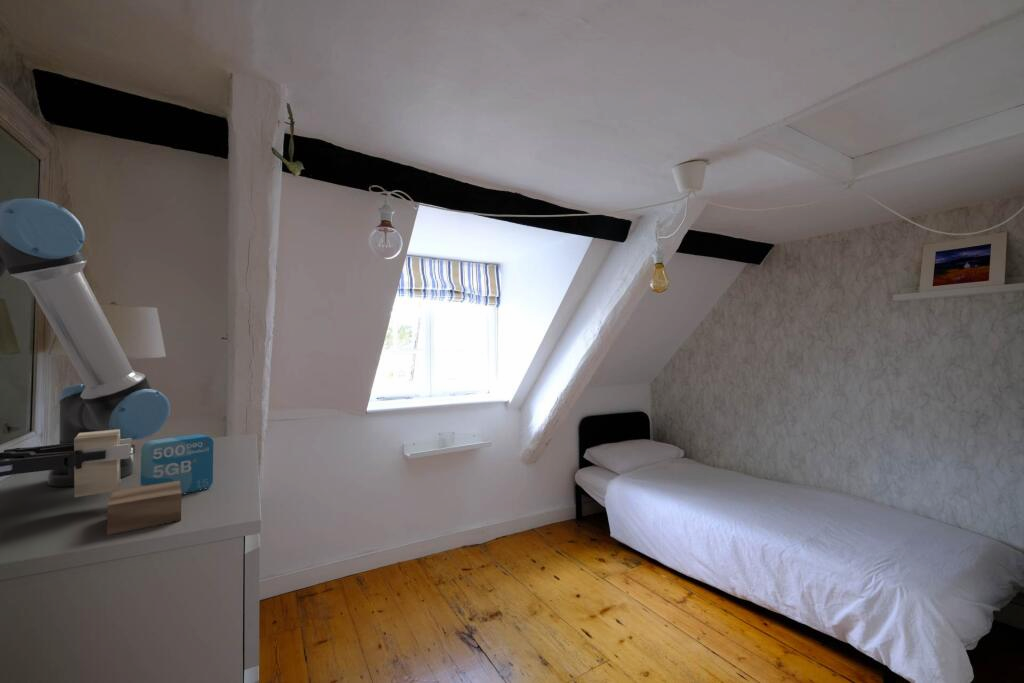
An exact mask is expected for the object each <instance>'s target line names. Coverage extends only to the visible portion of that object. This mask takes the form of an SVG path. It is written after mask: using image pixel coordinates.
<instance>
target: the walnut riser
mask: <svg viewBox="0 0 1024 683" xmlns="http://www.w3.org/2000/svg"><path fill="white" fill-rule="evenodd" d="M179 520H181V521H182V493H181V486H180V481H173V482H167V483H160V484H153V485H146V486H141V485H140V486H134V487H128V488H120V489H119V488H118V490H113V491H112V492H111V495H110V498H109V501H108V503H107V520H106V521H107V524H106V525H107V527H106V530H107V531H106V535H107V536H108V535H113V534H120V533H123V532H129V531H134V530H139V529H145V528H150V526H151V527H155V526H160V525H159V524H161V525H165V524H164V523H166V524H169V523H168V522H171V523H174V522H173V521H176V522H180V521H179Z"/></svg>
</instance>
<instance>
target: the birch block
mask: <svg viewBox="0 0 1024 683" xmlns="http://www.w3.org/2000/svg"><path fill="white" fill-rule="evenodd" d="M115 445H120V429H116V430H106V431H95V432H84V433H79V434H78V435H77V436H76V437H75V439H74V451H77V450H79V451H82V453H83V449H87V448H96V447H105V446H115ZM120 484H121V478H120V459H119V460H111V461H103V462H95V463H87V464H83V462H82V468H80V469H76V467H74V486H73V487H74V488H73V489H74V490H73V491H74V493H73V494H74V498H78V497H79V498H80V497H85V496H91V495H92V496H93V495H96V494H98V495H99V494H104V493H112V492H113V490H119V487H120Z"/></svg>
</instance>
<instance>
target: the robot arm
mask: <svg viewBox="0 0 1024 683" xmlns="http://www.w3.org/2000/svg"><path fill="white" fill-rule="evenodd" d="M85 234H86V233H85V230H84V227H83V225H82V223H81V222H80V221H79V219H78V218H77V217H76V216H75V215H74V214H73V213H72V212H70V211H69V210H68V209H67V208H65V207H63V206H60V205H59V204H57V203H55V202H52V201H50V200H46V199H41V198H35V197H33V198H30V197H29V198H14V199H7V200H4V201H2V202H0V279H1V278H2V277H3V276H4V275H5V274H6V273H7V272H8V273H9V275H10V276H11V277H13V278H16V279H19V280H21V281H24V282H25V283H26V284H27V285H28V288H29V289H30V291H31V293H32V294H33V297H34V298H35V300H36V302H37V303H38V305H39V307H40V309H41V310H42V312H43V315H44V316H45V318H46V319H47V321H48V323H49V324H50V327H51V328H52V330H53V332H54V333H55V335H56V337H57V339H58V341H59V342H60V344H61V346H62V348H63V349H64V351H65V352H66V355H67V356H68V359H70V361H71V363H72V365H73V366H74V368H75V370H76V372H77V374H78V376H79V377H80V379H81V381H82V382H83V383H80V384H72V385H67V386H65V387H64V388H63V389H62V390H61V392H60V398H59V400H58V403H59V444H49V445H40V446H33V447H32V446H31V447H30V446H29V447H15V448H7V449H3V451H1V452H0V478H1V477H5V476H11V475H20V474H28V473H37V472H43V471H44V472H47V471H49V472H48V474H47V486H50V487H61V488H64V487H74V467H76V469H80V468H82V462H83V464H87V463H95V462H103V461H111V460H119V459H120V479H121V478H125V477H127V476H130V475H132V474H134V467H135V466H134V465H135V464H134V461H133V459H132V457H131V454H130V453H131V452H132V441H135V440H137V441H138V440H139V441H140V440H144V439H147V438H149V437H152V436H153V435H155V434H156V433H158V432H159V431H160V430H161V429H162V428H164V426H165V425H166V422H167V420H168V419H169V417H170V414H171V404H170V400H169V399H168V398H167V396H166V395H165V394H163V392H161V391H159V390H157V389H153V388H152V386H151V385H150V383H149V380H148V379H147V376H146V374H144V373H142V372H138V371H136V370H133V368H132V365H131V363H130V362H129V360H128V358H127V356H126V354H125V353H124V349H122V346H121V344H120V342H119V341H118V338H117V337H116V334H115V333H114V331H113V329H112V327H111V324H110V323H109V321H108V319H107V317H106V315H105V313H104V311H103V310H102V307H101V306H100V303H99V302H98V299H97V298H96V296H95V294H94V291H93V290H92V288H91V286H90V284H89V281H88V280H87V279H86V276H85V274H84V271H83V269H84V268H85V266H86V265H87V262H88V259H87V258H86V256H85V254H84V252H83V250H82V247H83V246H84V242H85V240H86V238H85V237H86V235H85ZM116 429H120V445H115V446H105V447H96V448H87V449H83V453H82V451H79V450H77V451H74V439H75V437H76V436H77V435H78V434H79V433H84V432H95V431H106V430H116Z"/></svg>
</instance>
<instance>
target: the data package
mask: <svg viewBox="0 0 1024 683" xmlns="http://www.w3.org/2000/svg"><path fill="white" fill-rule="evenodd" d="M214 449H215V448H214V439H213V438H212V437H211V436H208V435H205V434H201V433H198V434H189V435H183V436H174V437H168V438H167V437H166V438H159V439H153V440H148V441H146V442H145V443H143V445H142V446H141V449H140V486H146V485H153V484H160V483H167V482H173V481H180V486H181V493H182V494H183V493H187V494H189V493H188V492H192V493H194V492H193V491H196V492H198V491H197V490H200V489H205V488H207V489H209V488H210V487H212V485H213V483H214ZM205 490H206V489H205ZM183 495H184V494H183Z"/></svg>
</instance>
